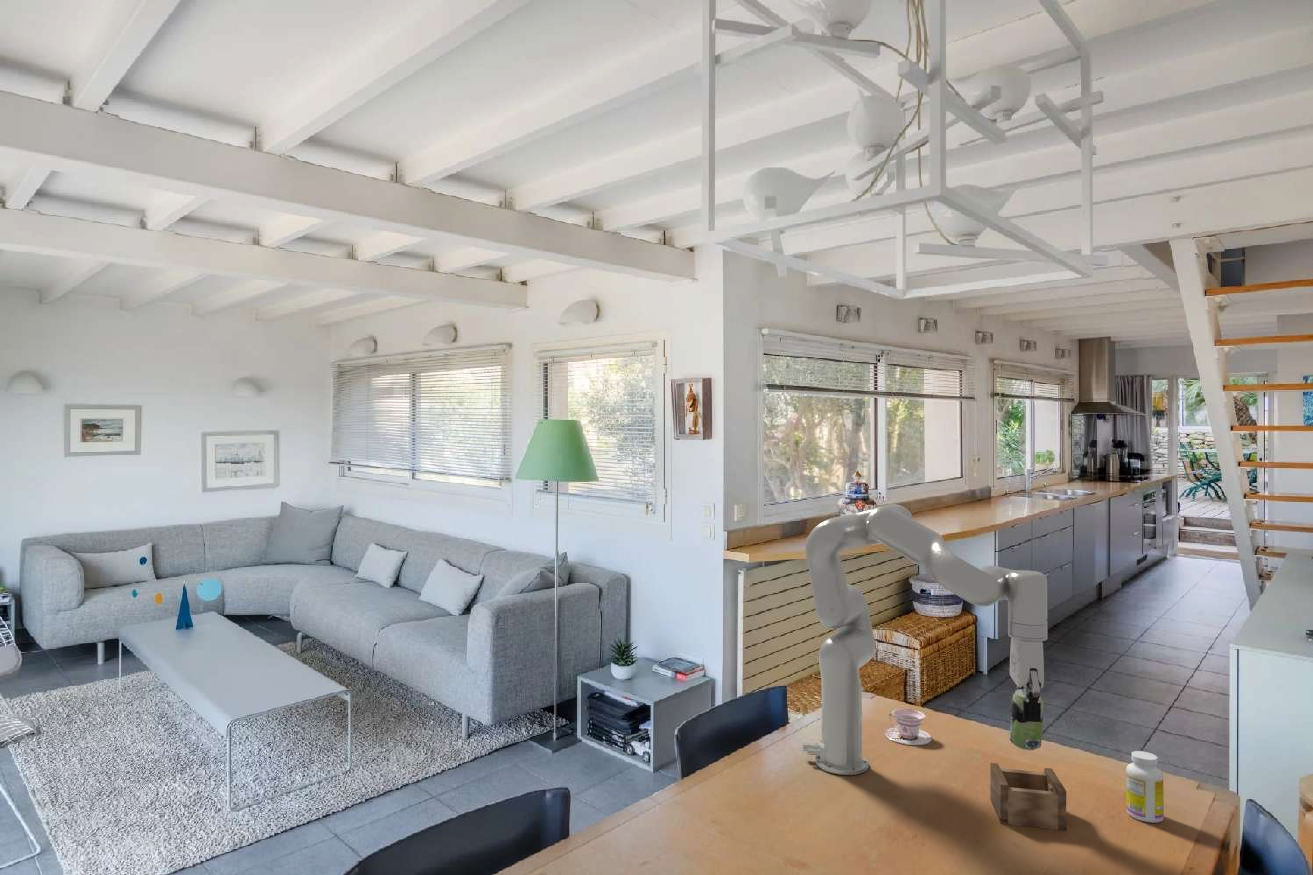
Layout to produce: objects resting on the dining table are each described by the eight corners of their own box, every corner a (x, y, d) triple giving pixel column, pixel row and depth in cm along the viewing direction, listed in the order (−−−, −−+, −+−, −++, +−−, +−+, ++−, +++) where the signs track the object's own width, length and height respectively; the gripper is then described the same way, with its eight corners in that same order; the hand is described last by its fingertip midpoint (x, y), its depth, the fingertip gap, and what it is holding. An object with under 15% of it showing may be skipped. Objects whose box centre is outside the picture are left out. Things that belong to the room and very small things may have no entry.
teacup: (933, 733, 208) (934, 710, 208) (929, 749, 197) (929, 725, 197) (887, 726, 213) (888, 703, 213) (881, 741, 202) (881, 718, 202)
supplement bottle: (1158, 811, 165) (1158, 751, 165) (1167, 826, 158) (1168, 763, 158) (1122, 806, 167) (1122, 747, 167) (1130, 820, 161) (1130, 759, 161)
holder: (1000, 823, 159) (1000, 784, 159) (990, 798, 170) (990, 762, 170) (1066, 830, 157) (1066, 790, 157) (1051, 805, 167) (1051, 768, 167)
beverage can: (1034, 743, 167) (1035, 686, 167) (1048, 755, 160) (1049, 696, 160) (1004, 740, 168) (1005, 684, 168) (1016, 753, 160) (1018, 694, 161)
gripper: (1000, 619, 173) (1000, 700, 173) (1017, 639, 156) (1018, 728, 156) (1036, 621, 171) (1037, 703, 171) (1058, 641, 154) (1058, 731, 154)
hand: (1028, 714), depth 163 cm, fingers closed on beverage can, 6 cm apart
